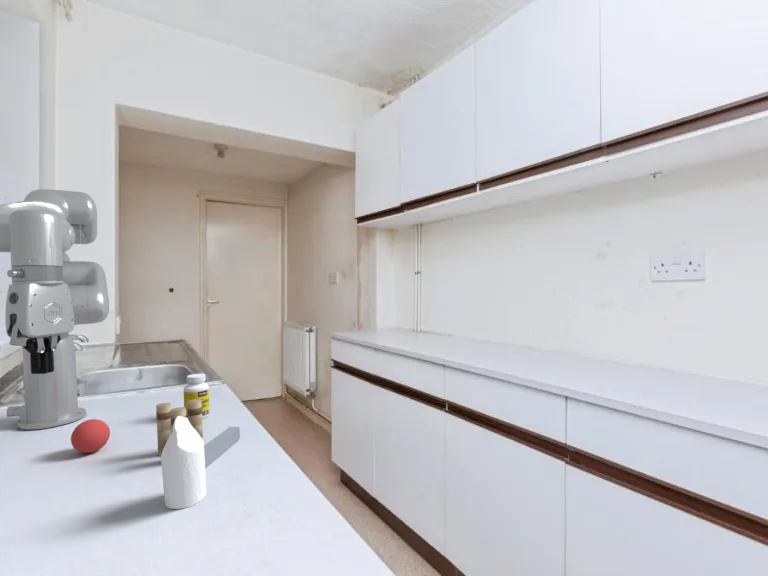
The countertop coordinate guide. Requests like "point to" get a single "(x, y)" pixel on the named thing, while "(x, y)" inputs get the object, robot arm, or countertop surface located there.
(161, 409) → the pin front
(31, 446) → the countertop surface
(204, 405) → the supplement bottle
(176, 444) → the white pointed column
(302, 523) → the countertop surface
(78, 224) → the robot arm
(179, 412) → the pin
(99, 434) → the ball
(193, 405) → the pin
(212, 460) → the stopper wall
